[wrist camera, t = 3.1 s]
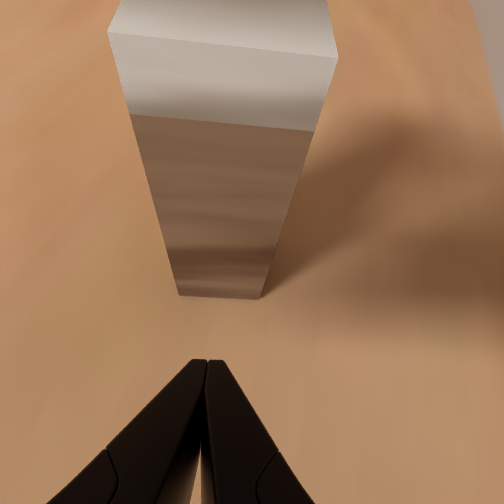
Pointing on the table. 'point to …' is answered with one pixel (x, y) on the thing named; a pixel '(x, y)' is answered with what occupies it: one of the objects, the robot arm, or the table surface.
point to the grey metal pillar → (223, 125)
